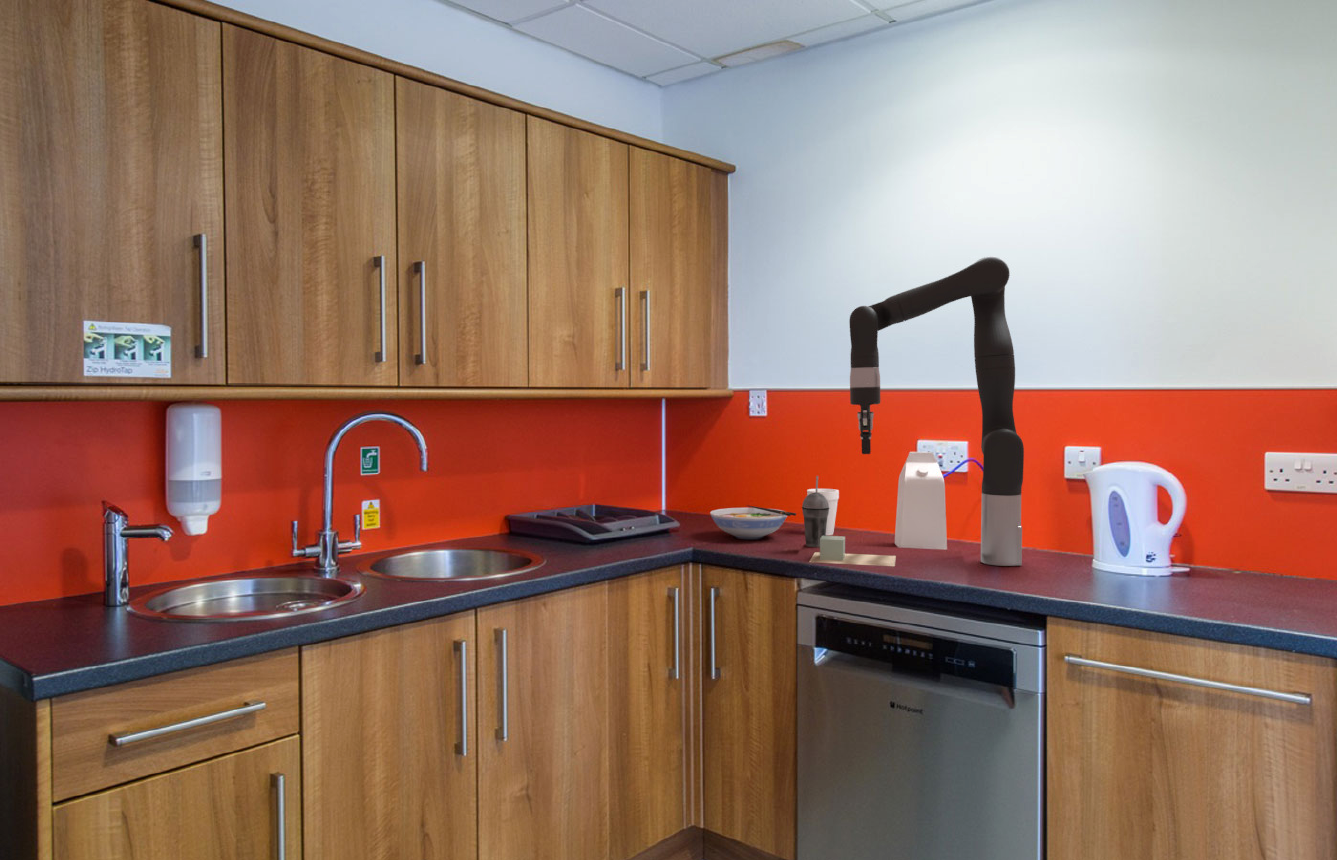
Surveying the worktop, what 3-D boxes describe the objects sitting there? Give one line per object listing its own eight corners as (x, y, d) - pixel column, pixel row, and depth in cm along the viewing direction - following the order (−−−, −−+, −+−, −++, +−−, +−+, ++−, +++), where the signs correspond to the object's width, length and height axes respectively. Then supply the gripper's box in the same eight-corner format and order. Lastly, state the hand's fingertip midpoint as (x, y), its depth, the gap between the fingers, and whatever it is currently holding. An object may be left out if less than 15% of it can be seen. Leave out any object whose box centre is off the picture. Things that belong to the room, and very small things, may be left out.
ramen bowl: (694, 534, 271) (694, 506, 270) (760, 529, 280) (760, 502, 280) (735, 547, 248) (735, 517, 248) (806, 541, 258) (806, 512, 257)
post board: (895, 561, 226) (896, 539, 226) (894, 572, 213) (894, 549, 212) (814, 558, 231) (815, 536, 231) (808, 568, 218) (809, 545, 218)
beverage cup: (797, 552, 240) (798, 476, 239) (806, 548, 246) (807, 474, 245) (824, 554, 236) (824, 478, 236) (832, 550, 243) (833, 475, 242)
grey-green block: (844, 556, 225) (845, 536, 225) (843, 560, 220) (843, 540, 219) (822, 555, 227) (822, 535, 226) (819, 559, 221) (820, 539, 221)
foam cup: (801, 532, 275) (801, 489, 274) (829, 530, 277) (829, 488, 277) (815, 536, 266) (816, 492, 265) (844, 535, 268) (844, 491, 268)
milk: (938, 544, 253) (939, 450, 252) (947, 551, 241) (948, 453, 240) (894, 543, 254) (895, 450, 253) (901, 550, 243) (902, 453, 242)
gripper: (880, 385, 223) (881, 455, 224) (880, 385, 236) (881, 452, 236) (848, 386, 225) (850, 455, 225) (851, 386, 238) (852, 452, 238)
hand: (866, 453), depth 231 cm, fingers closed
